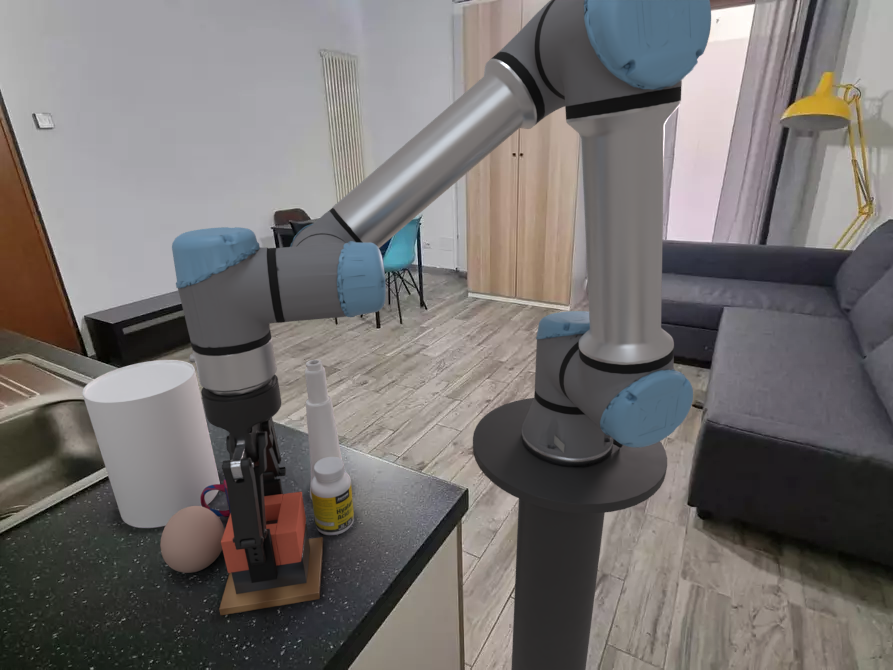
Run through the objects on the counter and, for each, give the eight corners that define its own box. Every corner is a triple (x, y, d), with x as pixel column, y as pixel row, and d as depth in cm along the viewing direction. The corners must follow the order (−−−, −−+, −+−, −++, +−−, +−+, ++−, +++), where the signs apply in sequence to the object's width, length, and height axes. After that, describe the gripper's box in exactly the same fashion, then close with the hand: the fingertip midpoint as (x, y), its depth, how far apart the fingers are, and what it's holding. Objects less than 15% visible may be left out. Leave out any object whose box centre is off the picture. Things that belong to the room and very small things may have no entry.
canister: (97, 522, 70) (55, 399, 62) (163, 466, 82) (134, 357, 75) (182, 532, 67) (149, 405, 60) (236, 473, 80) (214, 362, 73)
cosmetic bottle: (357, 490, 75) (344, 361, 67) (325, 511, 71) (307, 375, 63) (334, 474, 79) (319, 350, 71) (302, 493, 75) (282, 363, 67)
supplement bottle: (342, 540, 66) (335, 480, 62) (308, 531, 67) (299, 472, 64) (361, 514, 70) (356, 457, 67) (329, 506, 72) (321, 450, 69)
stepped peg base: (323, 542, 65) (317, 497, 63) (319, 599, 57) (312, 549, 54) (237, 555, 63) (227, 509, 61) (220, 615, 55) (207, 565, 53)
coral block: (306, 519, 62) (301, 491, 61) (301, 562, 56) (296, 531, 54) (240, 529, 61) (234, 499, 59) (227, 573, 55) (220, 542, 53)
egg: (155, 573, 61) (139, 520, 58) (206, 535, 67) (193, 486, 64) (192, 596, 58) (177, 541, 55) (241, 554, 64) (230, 502, 61)
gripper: (225, 346, 60) (254, 496, 68) (165, 438, 40) (215, 633, 48) (288, 341, 61) (309, 489, 69) (259, 428, 42) (293, 620, 50)
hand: (270, 548), depth 59 cm, fingers open, 8 cm apart
